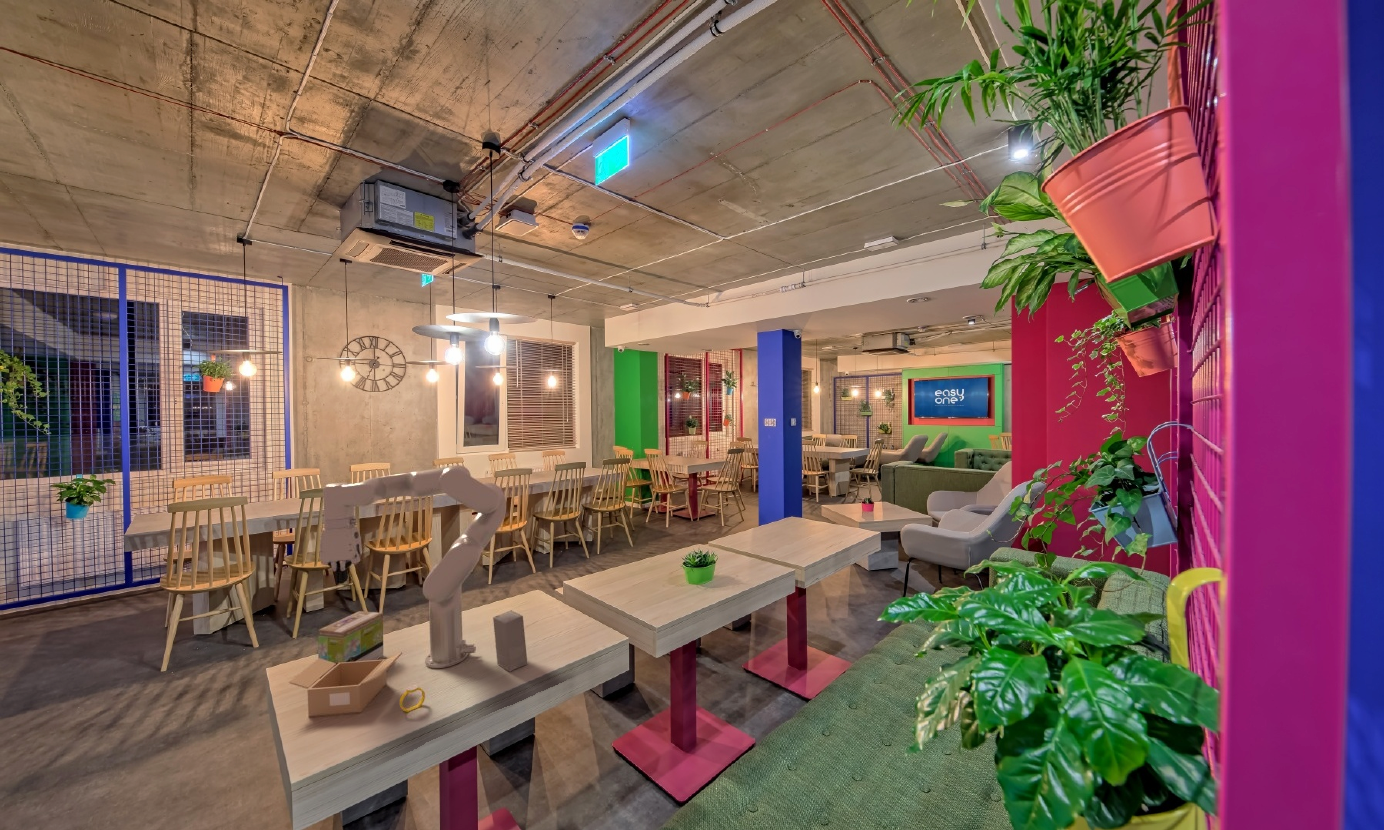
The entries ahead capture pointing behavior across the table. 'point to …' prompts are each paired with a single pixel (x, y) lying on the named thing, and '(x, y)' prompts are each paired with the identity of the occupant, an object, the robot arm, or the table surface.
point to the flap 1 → (312, 673)
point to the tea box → (352, 638)
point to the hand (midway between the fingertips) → (341, 582)
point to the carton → (345, 689)
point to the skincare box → (510, 640)
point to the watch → (410, 690)
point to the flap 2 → (382, 668)
